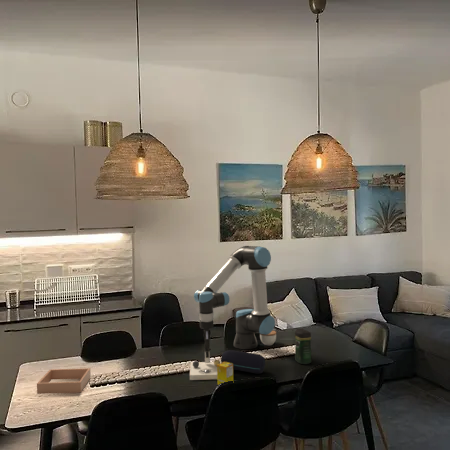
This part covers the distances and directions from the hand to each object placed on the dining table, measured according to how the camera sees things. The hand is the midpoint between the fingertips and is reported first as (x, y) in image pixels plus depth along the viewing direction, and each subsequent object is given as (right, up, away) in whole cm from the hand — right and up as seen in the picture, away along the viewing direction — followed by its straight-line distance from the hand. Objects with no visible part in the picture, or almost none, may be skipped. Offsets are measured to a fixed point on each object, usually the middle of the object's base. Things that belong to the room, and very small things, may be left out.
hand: (207, 362), depth 263 cm
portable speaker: (+20, -4, -3) cm, 21 cm away
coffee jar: (+54, -2, +9) cm, 55 cm away
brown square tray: (-71, -5, -22) cm, 75 cm away
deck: (0, -4, -7) cm, 8 cm away
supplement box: (+10, -5, -25) cm, 27 cm away
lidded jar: (+38, -1, +45) cm, 59 cm away
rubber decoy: (-6, +1, -5) cm, 8 cm away
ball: (0, -2, -12) cm, 12 cm away
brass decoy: (+5, +1, -3) cm, 6 cm away
